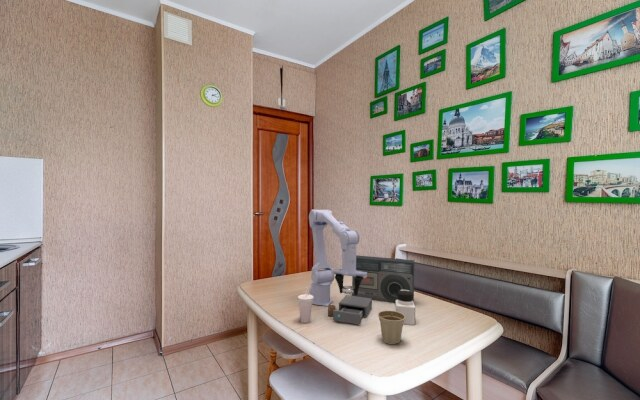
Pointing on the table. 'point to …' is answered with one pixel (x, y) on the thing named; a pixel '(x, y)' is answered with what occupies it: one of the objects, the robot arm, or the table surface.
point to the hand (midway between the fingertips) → (348, 293)
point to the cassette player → (384, 277)
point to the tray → (348, 315)
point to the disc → (348, 289)
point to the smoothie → (305, 306)
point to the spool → (331, 310)
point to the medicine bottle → (406, 306)
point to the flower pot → (391, 326)
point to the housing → (356, 304)
